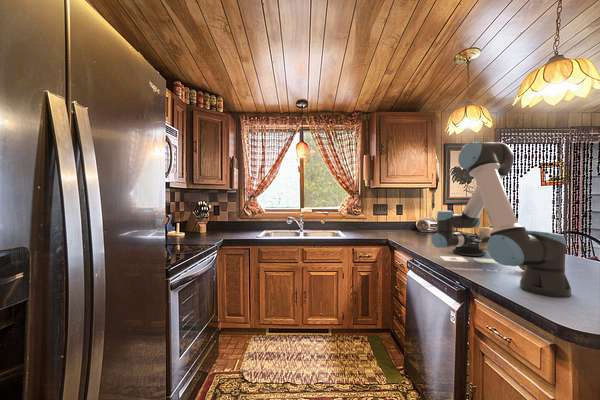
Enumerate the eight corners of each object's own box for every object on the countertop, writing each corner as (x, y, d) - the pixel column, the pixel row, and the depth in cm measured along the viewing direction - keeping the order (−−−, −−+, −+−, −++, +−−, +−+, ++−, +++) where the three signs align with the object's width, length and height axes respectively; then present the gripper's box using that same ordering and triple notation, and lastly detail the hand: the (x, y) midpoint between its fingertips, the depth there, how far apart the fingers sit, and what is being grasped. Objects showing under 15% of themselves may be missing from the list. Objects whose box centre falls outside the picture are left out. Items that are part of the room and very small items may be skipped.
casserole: (489, 260, 161) (489, 245, 160) (452, 257, 169) (452, 243, 169) (484, 252, 183) (484, 239, 182) (451, 249, 191) (451, 237, 191)
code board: (468, 263, 153) (468, 261, 153) (444, 262, 156) (444, 260, 156) (461, 258, 164) (461, 257, 164) (439, 257, 167) (439, 256, 167)
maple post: (493, 250, 152) (494, 228, 151) (481, 250, 153) (481, 228, 153) (489, 248, 158) (489, 227, 157) (477, 247, 159) (477, 226, 159)
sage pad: (500, 265, 149) (500, 263, 149) (479, 264, 151) (479, 262, 151) (492, 260, 159) (492, 259, 159) (472, 260, 161) (472, 258, 161)
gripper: (445, 243, 159) (477, 241, 166) (474, 249, 141) (509, 247, 148) (445, 230, 159) (477, 228, 166) (474, 235, 141) (509, 232, 147)
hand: (492, 237), depth 157 cm, fingers closed on maple post, 6 cm apart
